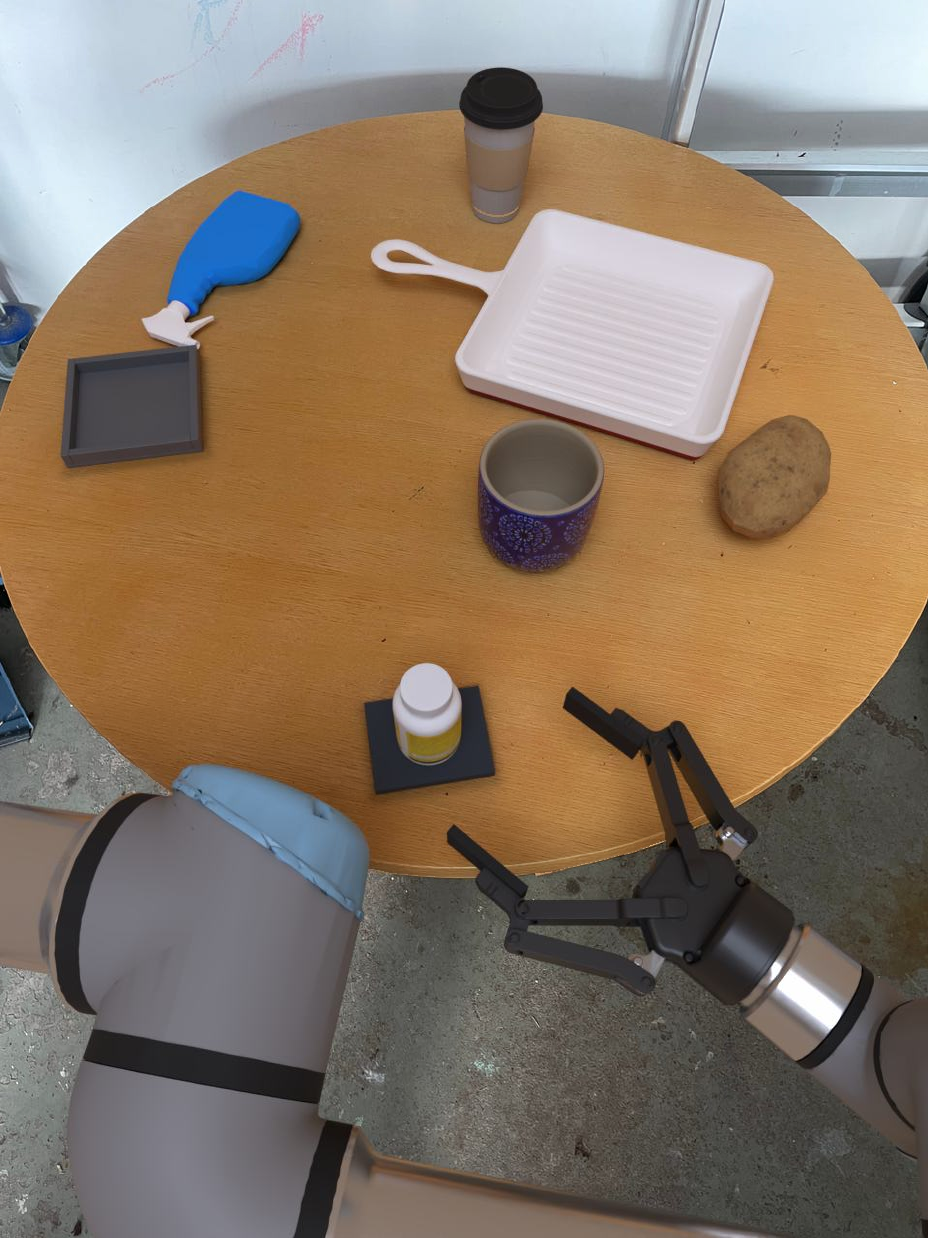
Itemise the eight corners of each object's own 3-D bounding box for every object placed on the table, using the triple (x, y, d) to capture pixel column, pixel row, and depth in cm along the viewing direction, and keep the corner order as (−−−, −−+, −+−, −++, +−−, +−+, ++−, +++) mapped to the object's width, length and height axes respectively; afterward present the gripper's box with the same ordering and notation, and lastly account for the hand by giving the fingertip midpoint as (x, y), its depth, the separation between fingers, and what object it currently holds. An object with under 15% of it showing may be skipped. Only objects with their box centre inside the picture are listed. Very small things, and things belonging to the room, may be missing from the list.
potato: (680, 531, 85) (700, 479, 78) (745, 442, 90) (769, 386, 84) (770, 581, 82) (800, 532, 75) (832, 486, 88) (864, 432, 81)
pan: (706, 477, 88) (718, 446, 84) (321, 359, 96) (315, 325, 92) (765, 299, 101) (778, 265, 97) (422, 208, 109) (421, 172, 105)
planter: (599, 579, 82) (619, 507, 72) (485, 593, 81) (490, 523, 71) (574, 488, 87) (589, 410, 78) (467, 500, 86) (469, 423, 77)
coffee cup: (464, 182, 111) (465, 59, 98) (537, 189, 111) (548, 66, 98) (453, 229, 107) (453, 107, 94) (529, 236, 106) (540, 115, 93)
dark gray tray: (67, 468, 88) (60, 456, 86) (74, 371, 95) (67, 358, 93) (203, 451, 89) (198, 439, 88) (200, 357, 96) (195, 344, 94)
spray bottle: (227, 184, 106) (115, 315, 95) (307, 206, 104) (202, 342, 93) (233, 205, 109) (125, 335, 98) (311, 227, 107) (209, 363, 96)
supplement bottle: (474, 739, 73) (477, 690, 64) (425, 779, 71) (421, 735, 63) (433, 694, 75) (430, 641, 66) (383, 733, 73) (374, 683, 65)
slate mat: (375, 795, 71) (375, 791, 71) (364, 707, 75) (363, 702, 74) (494, 776, 72) (495, 771, 71) (478, 689, 76) (478, 685, 75)
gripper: (646, 1132, 55) (398, 908, 61) (836, 834, 64) (603, 668, 71) (672, 1136, 48) (391, 884, 55) (879, 803, 58) (618, 623, 64)
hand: (510, 762), depth 63 cm, fingers open, 13 cm apart
